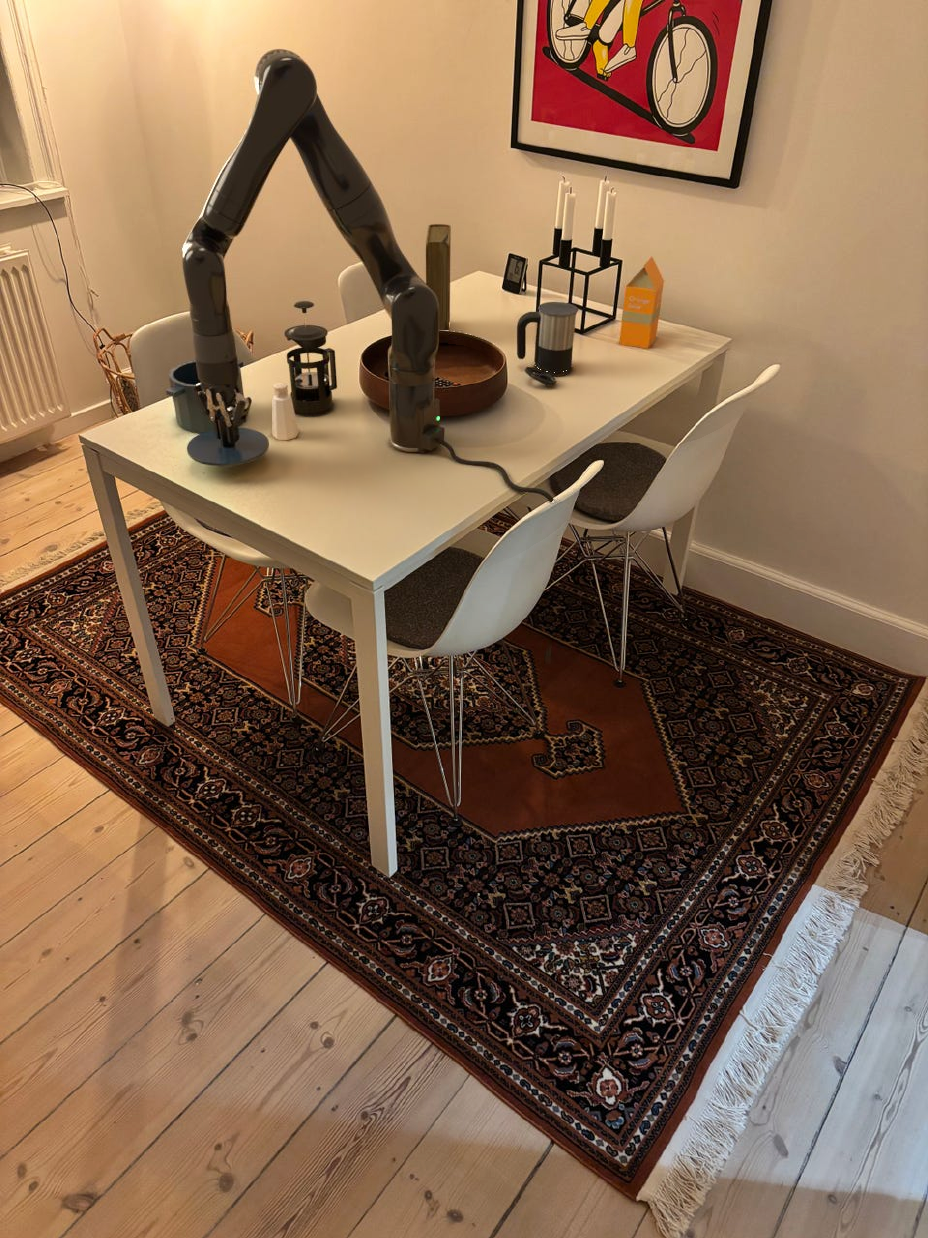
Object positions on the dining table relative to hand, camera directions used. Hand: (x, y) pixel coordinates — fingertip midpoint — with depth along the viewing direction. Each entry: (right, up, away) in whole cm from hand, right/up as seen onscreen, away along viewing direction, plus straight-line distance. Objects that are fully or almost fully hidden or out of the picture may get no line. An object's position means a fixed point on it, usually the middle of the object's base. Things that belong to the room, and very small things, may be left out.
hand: (227, 439), depth 187 cm
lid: (0, -1, +1) cm, 2 cm away
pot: (-8, +8, +20) cm, 23 cm away
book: (+39, +39, +62) cm, 83 cm away
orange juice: (+90, +36, +61) cm, 115 cm away
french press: (+13, +12, +25) cm, 31 cm away
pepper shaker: (+9, +3, +14) cm, 17 cm away
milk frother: (+66, +23, +42) cm, 81 cm away
